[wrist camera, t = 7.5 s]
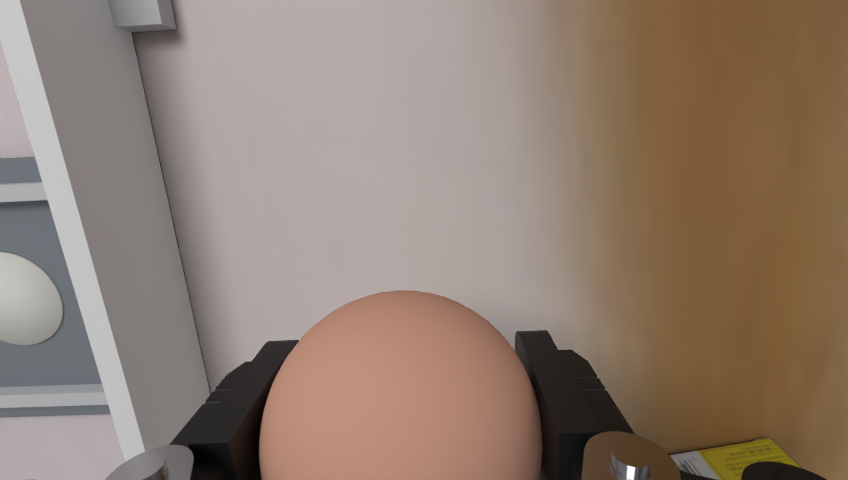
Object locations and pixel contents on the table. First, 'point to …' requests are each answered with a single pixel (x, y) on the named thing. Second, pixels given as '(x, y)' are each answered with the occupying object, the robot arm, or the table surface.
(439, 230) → the table surface
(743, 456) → the crayon box
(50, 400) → the slate mat
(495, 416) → the rubber ball
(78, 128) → the low wall
